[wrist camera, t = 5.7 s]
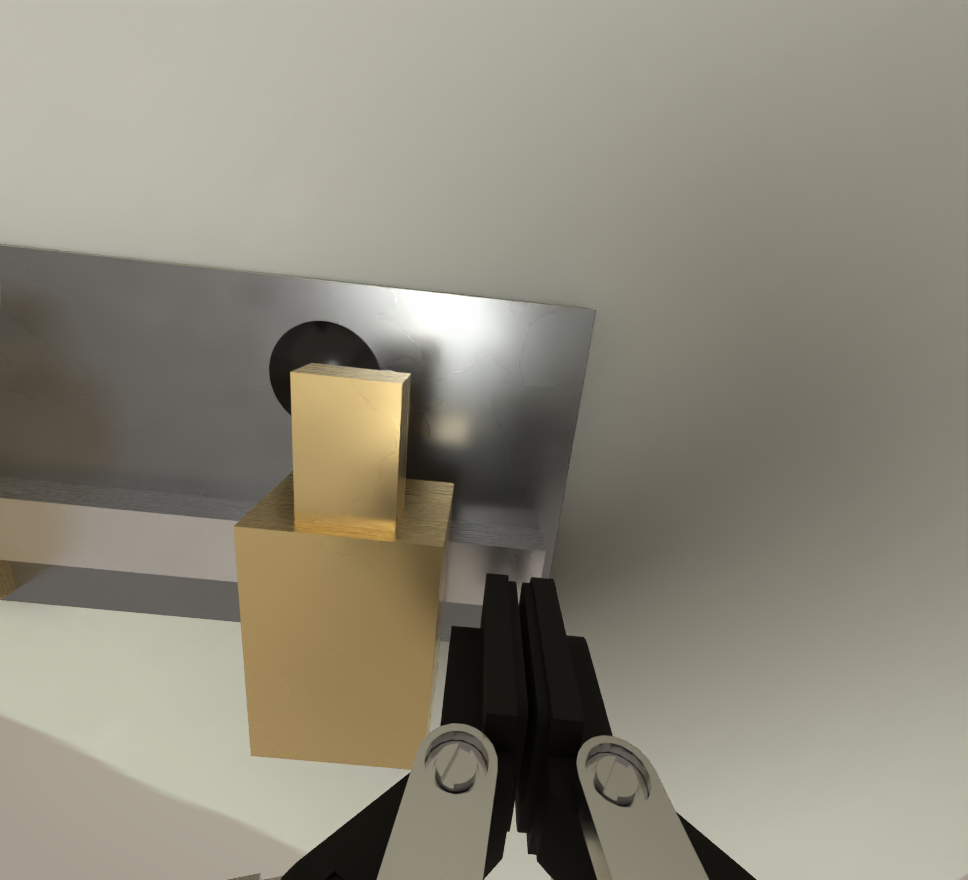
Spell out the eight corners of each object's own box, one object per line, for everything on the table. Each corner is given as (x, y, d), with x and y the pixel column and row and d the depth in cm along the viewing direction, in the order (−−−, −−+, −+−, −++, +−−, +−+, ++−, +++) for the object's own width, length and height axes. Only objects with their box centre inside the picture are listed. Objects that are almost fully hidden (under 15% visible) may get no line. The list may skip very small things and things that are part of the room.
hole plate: (586, 308, 13) (659, 324, 8) (533, 624, 17) (555, 796, 11) (-210, 221, 13) (-766, 169, 7) (-93, 565, 16) (-402, 714, 11)
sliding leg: (467, 358, 12) (455, 394, 8) (441, 641, 15) (423, 770, 11) (310, 341, 12) (221, 370, 8) (315, 630, 15) (251, 755, 11)
